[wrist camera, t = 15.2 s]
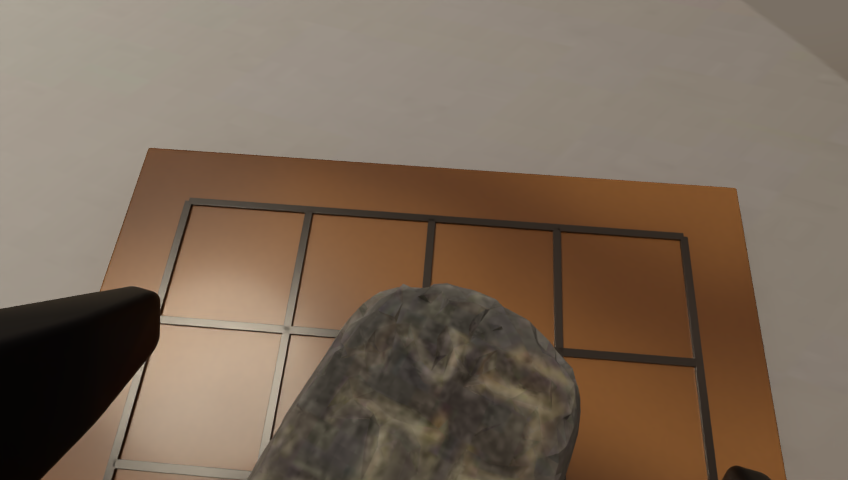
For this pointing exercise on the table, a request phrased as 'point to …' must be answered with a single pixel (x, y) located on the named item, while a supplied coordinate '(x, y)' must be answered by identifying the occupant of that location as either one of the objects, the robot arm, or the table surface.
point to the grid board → (422, 267)
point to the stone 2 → (431, 396)
